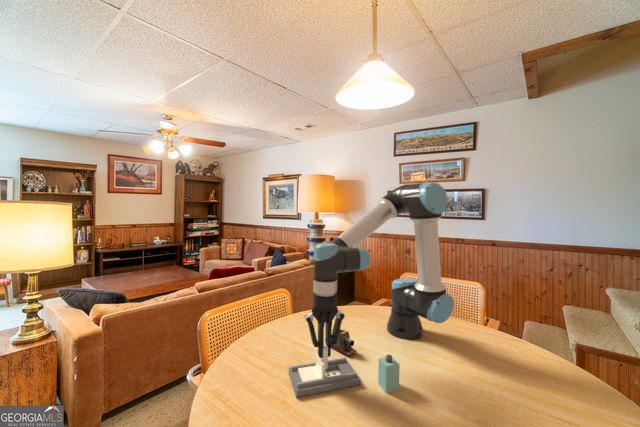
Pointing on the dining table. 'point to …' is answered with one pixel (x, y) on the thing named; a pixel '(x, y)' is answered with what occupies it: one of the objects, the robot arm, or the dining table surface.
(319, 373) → the shutter
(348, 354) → the electronic device
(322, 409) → the dining table surface
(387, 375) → the teal bottle
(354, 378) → the socket board
